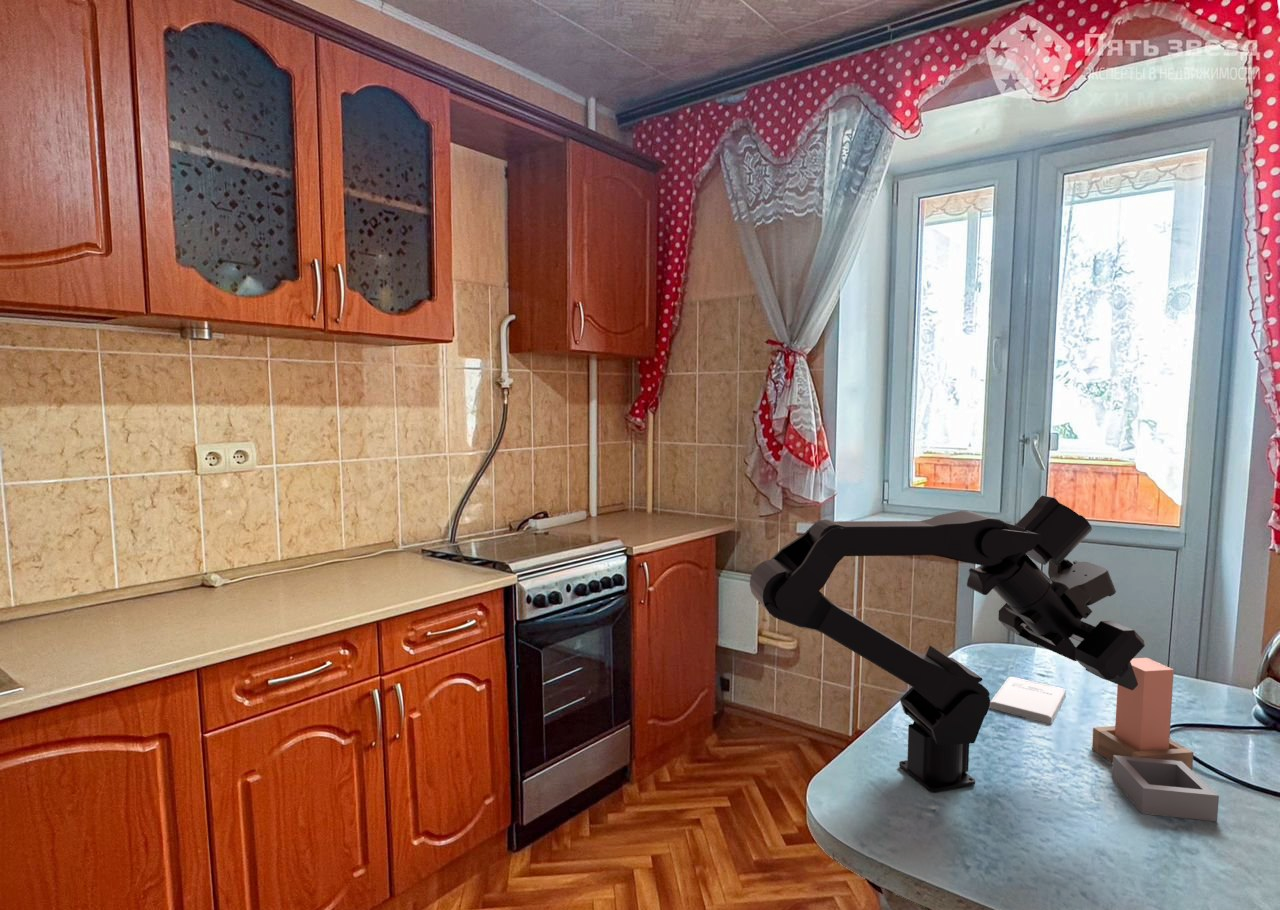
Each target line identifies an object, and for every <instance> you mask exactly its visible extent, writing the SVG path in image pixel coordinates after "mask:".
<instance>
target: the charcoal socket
mask: <svg viewBox="0 0 1280 910" xmlns="http://www.w3.org/2000/svg"><path fill="white" fill-rule="evenodd" d="M1111 771H1112V772H1111V779H1112V780H1113V782H1115V784H1116V785H1117V786H1118V788H1119V789H1121V791H1122V792H1123V793H1124V794H1125V795H1126V796H1127V797H1128V799H1129V800H1130V802H1131V803H1132V804H1133V805H1134V806H1135V807H1136V808H1137V810H1138V811H1139V812H1140V813H1141V814H1143V815H1151V816H1154V815H1155V816H1162V817H1171V818H1179V819H1180V818H1182V819H1190V820H1191V819H1192V820H1201V821H1208V822H1209V821H1210V822H1218V814H1219V802H1220V801H1219V798H1220V795H1219V794H1218V793H1217V792H1215V790H1213V789H1212V788H1211V787H1210V786H1209V785H1208V783H1206V782H1205V781H1203V779H1202V778H1200V777H1199V776H1198V775H1197V774H1196V773H1195V772H1194V771H1193V769H1192V770H1191V769H1189V768H1188V767H1187V766H1186V765H1185V764H1184V763H1183V762H1182V761H1174V760H1163V759H1151V758H1140V757H1129V756H1118V755H1113V763H1112V769H1111Z"/></svg>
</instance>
